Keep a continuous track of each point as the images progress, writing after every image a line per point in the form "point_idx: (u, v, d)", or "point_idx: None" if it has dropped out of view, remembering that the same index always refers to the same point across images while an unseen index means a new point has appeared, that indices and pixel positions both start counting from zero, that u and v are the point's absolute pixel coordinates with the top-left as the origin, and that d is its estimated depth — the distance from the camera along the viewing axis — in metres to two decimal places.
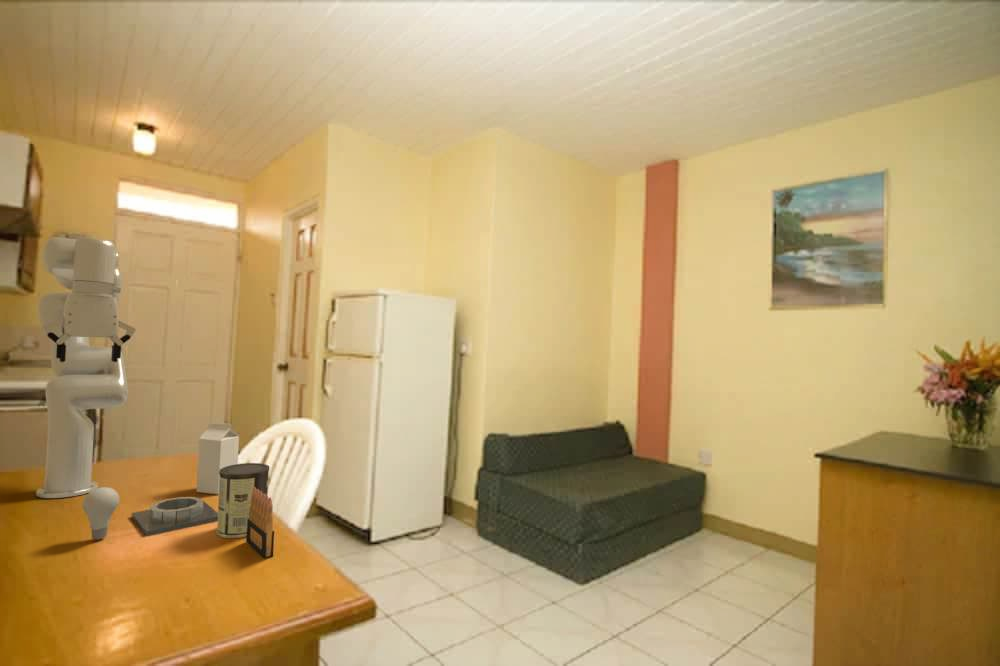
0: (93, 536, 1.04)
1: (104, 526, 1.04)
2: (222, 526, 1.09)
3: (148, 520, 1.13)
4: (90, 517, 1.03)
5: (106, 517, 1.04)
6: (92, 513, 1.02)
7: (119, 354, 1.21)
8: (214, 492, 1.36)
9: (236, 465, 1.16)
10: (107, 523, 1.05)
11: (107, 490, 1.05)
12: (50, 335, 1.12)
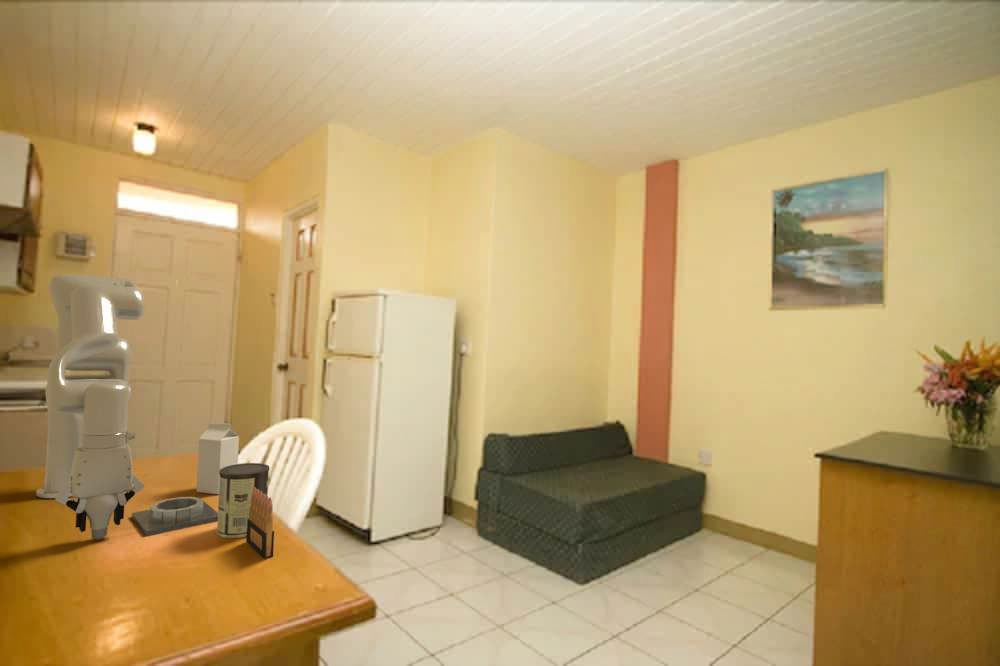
0: (93, 536, 1.04)
1: (104, 526, 1.04)
2: (222, 526, 1.09)
3: (148, 520, 1.13)
4: (90, 517, 1.03)
5: (106, 517, 1.04)
6: (92, 514, 1.02)
7: (122, 515, 1.07)
8: (214, 492, 1.36)
9: (236, 465, 1.16)
10: (106, 523, 1.05)
11: None
12: (69, 504, 1.00)
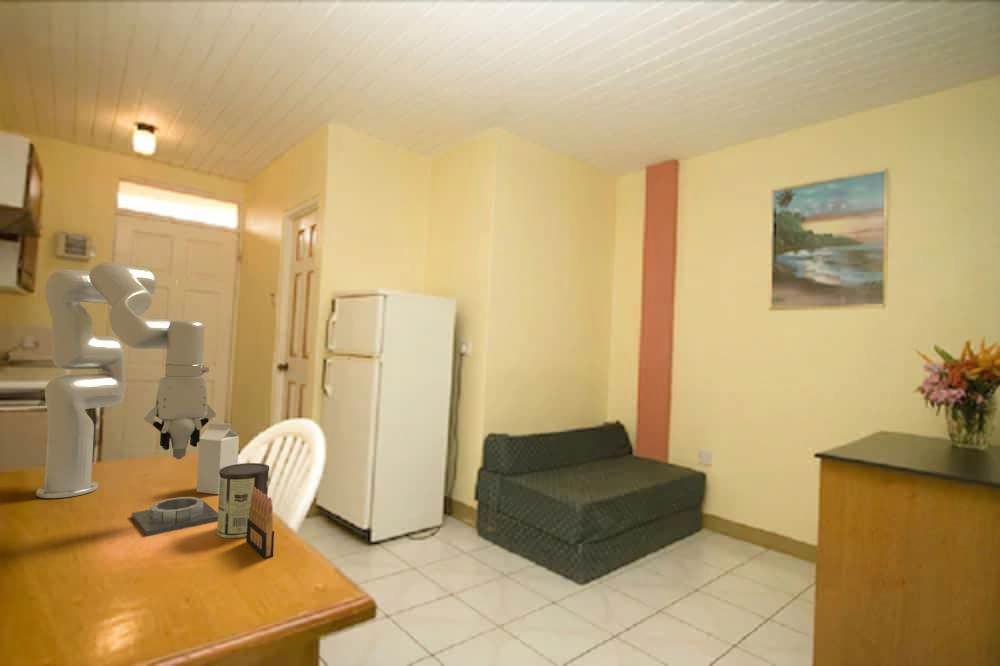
0: (174, 455, 1.17)
1: (184, 447, 1.18)
2: (222, 526, 1.09)
3: (148, 520, 1.13)
4: (172, 438, 1.16)
5: (185, 439, 1.18)
6: (175, 434, 1.16)
7: (198, 438, 1.20)
8: (214, 492, 1.36)
9: (236, 465, 1.16)
10: (186, 444, 1.18)
11: None
12: (156, 424, 1.14)
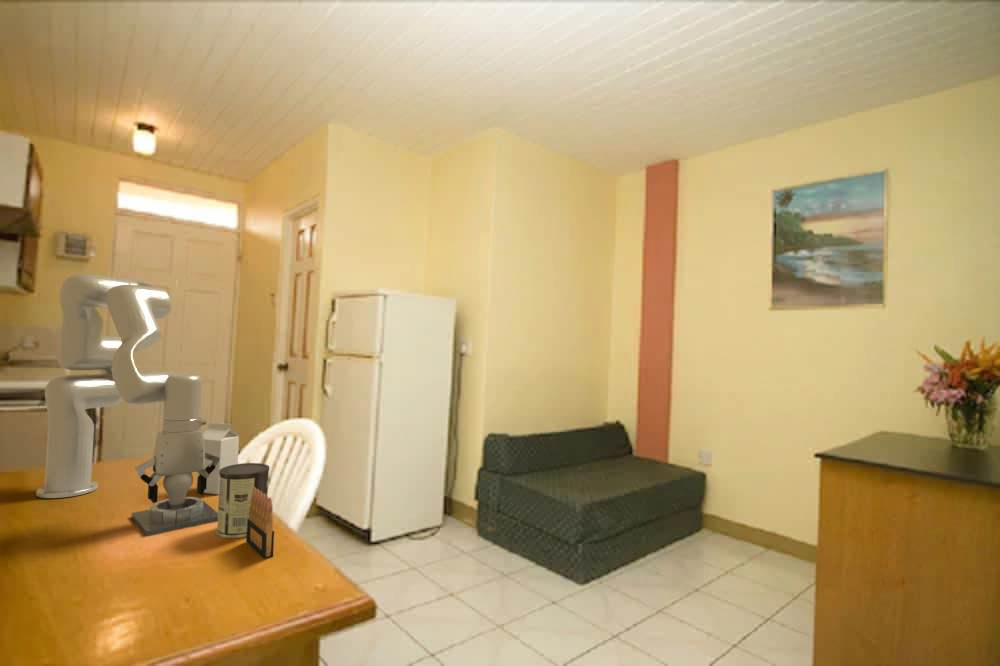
0: None
1: (181, 502, 1.18)
2: (222, 526, 1.09)
3: (148, 520, 1.13)
4: (170, 494, 1.16)
5: (183, 494, 1.18)
6: (172, 490, 1.16)
7: (205, 486, 1.22)
8: (214, 492, 1.36)
9: (236, 465, 1.16)
10: (183, 499, 1.18)
11: None
12: (143, 478, 1.12)
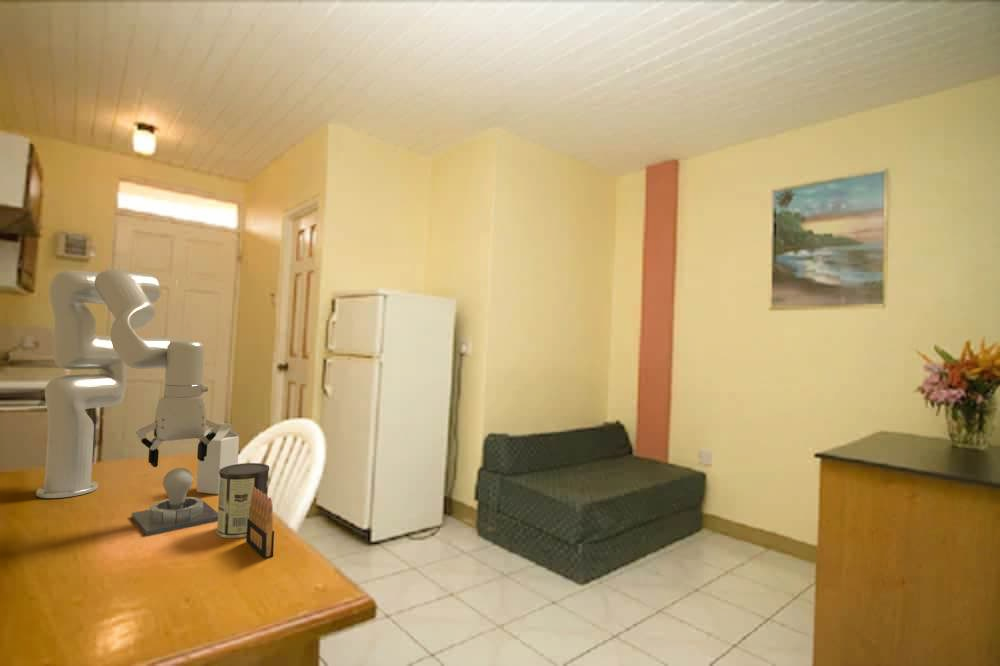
0: None
1: (181, 502, 1.18)
2: (222, 526, 1.09)
3: (148, 520, 1.13)
4: (170, 494, 1.16)
5: (183, 494, 1.18)
6: (172, 490, 1.16)
7: (205, 453, 1.22)
8: (214, 492, 1.36)
9: (236, 465, 1.16)
10: (183, 499, 1.18)
11: (184, 470, 1.18)
12: (144, 441, 1.13)
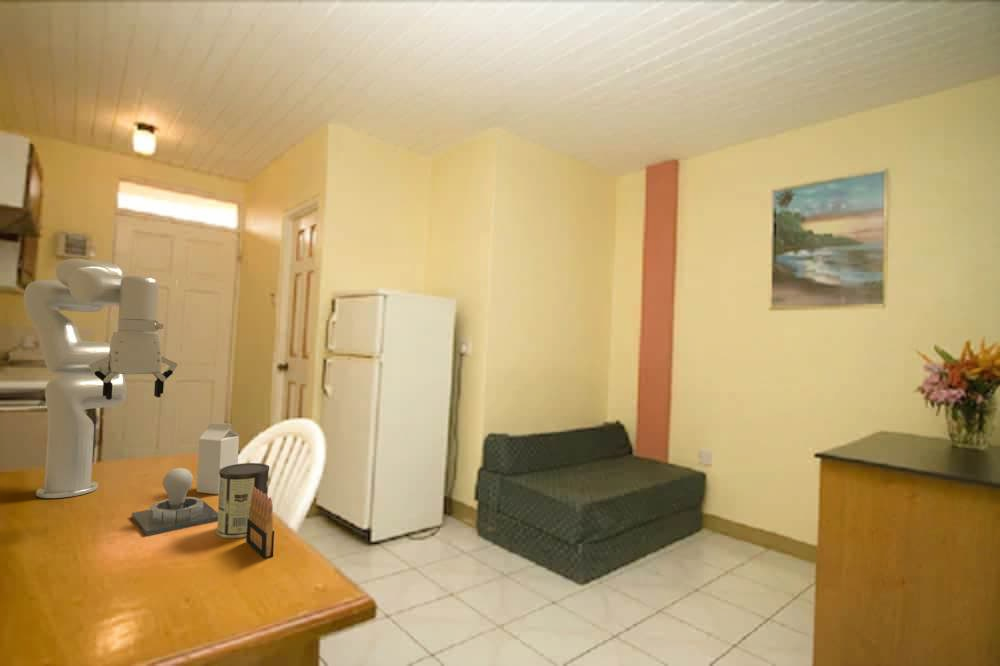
0: None
1: (181, 502, 1.18)
2: (222, 526, 1.09)
3: (148, 520, 1.13)
4: (170, 494, 1.16)
5: (183, 494, 1.18)
6: (172, 491, 1.16)
7: (162, 389, 1.23)
8: (214, 492, 1.36)
9: (236, 465, 1.16)
10: (183, 499, 1.18)
11: (184, 470, 1.18)
12: (97, 374, 1.13)
